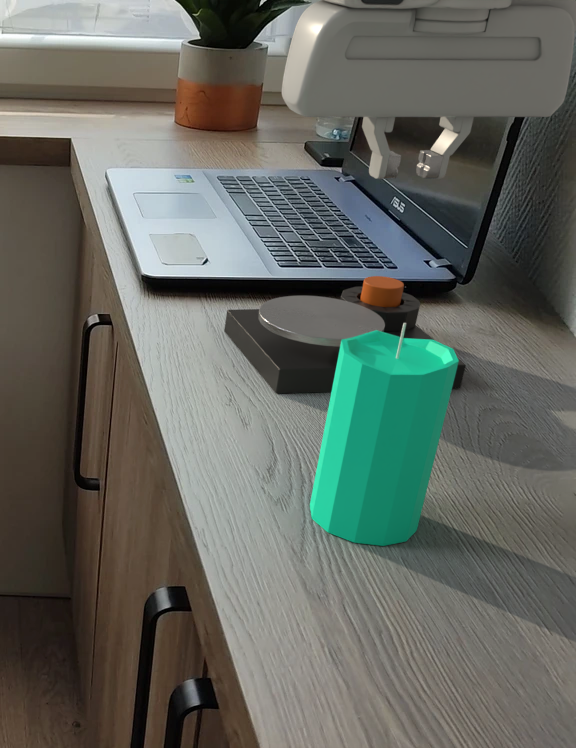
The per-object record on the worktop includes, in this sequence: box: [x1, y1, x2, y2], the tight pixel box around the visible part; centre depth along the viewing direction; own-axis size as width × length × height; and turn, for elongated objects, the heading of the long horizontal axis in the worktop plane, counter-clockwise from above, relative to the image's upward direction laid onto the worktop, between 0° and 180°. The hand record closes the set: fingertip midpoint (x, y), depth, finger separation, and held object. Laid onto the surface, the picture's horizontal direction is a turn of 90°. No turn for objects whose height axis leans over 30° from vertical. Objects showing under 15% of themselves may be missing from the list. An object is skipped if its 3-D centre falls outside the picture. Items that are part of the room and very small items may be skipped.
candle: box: [309, 323, 460, 547], centre depth 61 cm, size 6×6×12 cm
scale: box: [223, 286, 467, 394], centre depth 84 cm, size 14×12×4 cm
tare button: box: [360, 275, 405, 307], centre depth 86 cm, size 3×3×2 cm
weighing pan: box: [258, 295, 385, 347], centre depth 81 cm, size 9×9×1 cm
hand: (405, 177), depth 82 cm, fingers closed
